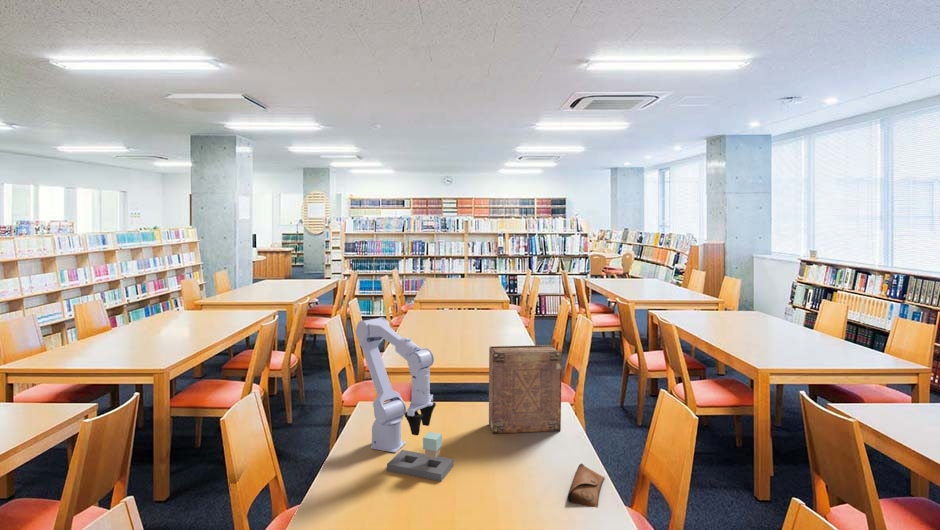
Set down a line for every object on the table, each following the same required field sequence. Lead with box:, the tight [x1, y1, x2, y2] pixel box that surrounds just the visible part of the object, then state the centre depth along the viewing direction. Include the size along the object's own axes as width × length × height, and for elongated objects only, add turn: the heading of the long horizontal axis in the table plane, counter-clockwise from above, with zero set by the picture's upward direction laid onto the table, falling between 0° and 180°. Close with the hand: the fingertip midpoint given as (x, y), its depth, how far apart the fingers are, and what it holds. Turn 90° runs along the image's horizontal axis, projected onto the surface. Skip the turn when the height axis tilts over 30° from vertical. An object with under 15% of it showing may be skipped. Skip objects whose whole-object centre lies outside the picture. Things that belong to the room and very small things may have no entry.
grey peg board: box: [386, 449, 455, 482], centre depth 151 cm, size 18×10×2 cm, turn 71°
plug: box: [422, 431, 443, 458], centre depth 149 cm, size 4×4×6 cm
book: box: [488, 344, 563, 435], centre depth 181 cm, size 25×9×30 cm, turn 97°
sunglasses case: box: [567, 463, 606, 508], centre depth 140 cm, size 18×7×7 cm, turn 159°
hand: (420, 429), depth 155 cm, fingers open, 7 cm apart
